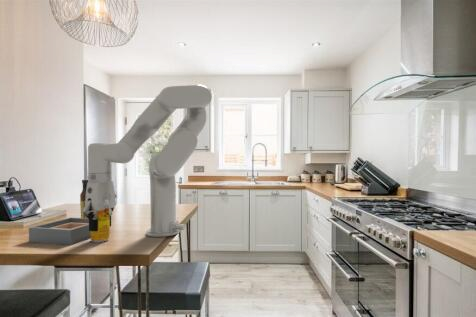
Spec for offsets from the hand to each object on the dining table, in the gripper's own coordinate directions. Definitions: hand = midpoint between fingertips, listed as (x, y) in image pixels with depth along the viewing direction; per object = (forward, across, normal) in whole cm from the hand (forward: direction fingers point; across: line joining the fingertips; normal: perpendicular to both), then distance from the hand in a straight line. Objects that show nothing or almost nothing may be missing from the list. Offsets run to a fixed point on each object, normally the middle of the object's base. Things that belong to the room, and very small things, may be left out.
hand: (100, 228), depth 102 cm
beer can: (+5, 0, 0) cm, 5 cm away
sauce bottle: (+5, +24, +27) cm, 36 cm away
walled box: (+4, +2, +15) cm, 16 cm away
